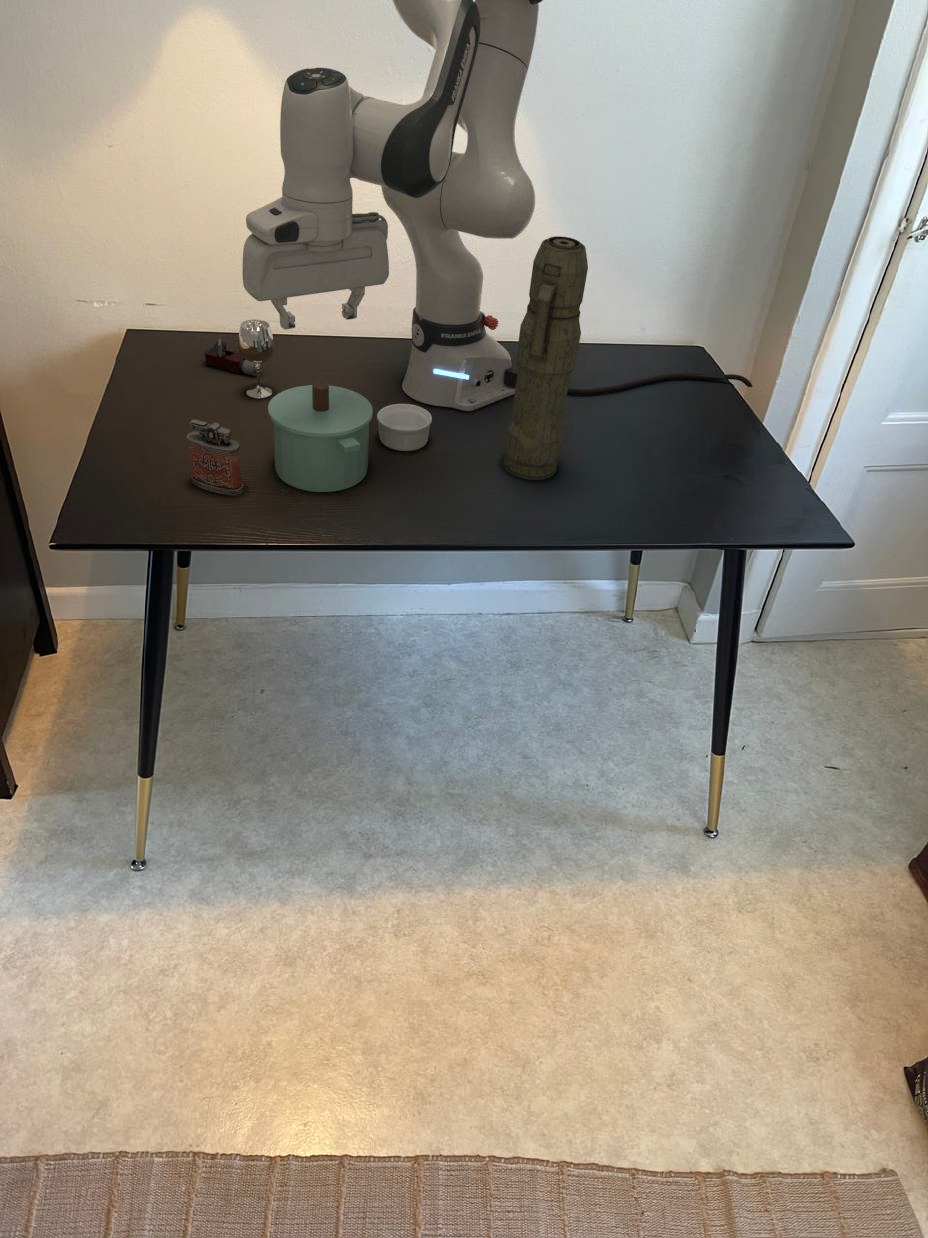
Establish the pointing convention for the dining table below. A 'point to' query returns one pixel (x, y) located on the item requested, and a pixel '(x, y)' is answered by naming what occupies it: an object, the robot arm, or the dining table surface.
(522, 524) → the dining table surface
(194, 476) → the lighter
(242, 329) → the wineglass
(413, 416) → the ramekin
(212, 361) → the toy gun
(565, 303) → the thermos
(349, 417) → the lid
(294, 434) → the pot
